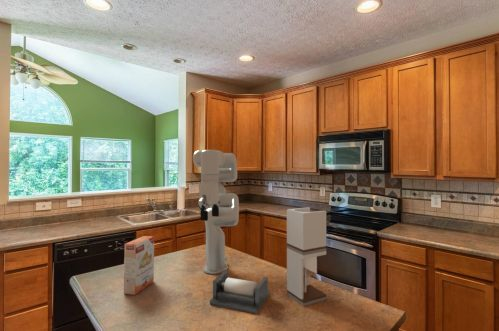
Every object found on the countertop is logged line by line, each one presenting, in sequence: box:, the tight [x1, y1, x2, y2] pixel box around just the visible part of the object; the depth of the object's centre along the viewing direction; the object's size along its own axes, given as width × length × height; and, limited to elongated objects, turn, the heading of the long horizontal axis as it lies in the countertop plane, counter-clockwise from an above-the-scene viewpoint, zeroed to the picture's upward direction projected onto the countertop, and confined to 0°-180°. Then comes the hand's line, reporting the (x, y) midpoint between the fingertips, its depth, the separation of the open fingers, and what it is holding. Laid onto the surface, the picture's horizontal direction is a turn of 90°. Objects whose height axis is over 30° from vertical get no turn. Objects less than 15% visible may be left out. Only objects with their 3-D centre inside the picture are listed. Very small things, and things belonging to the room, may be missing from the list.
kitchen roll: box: [224, 277, 258, 298], centre depth 108 cm, size 6×12×6 cm, turn 69°
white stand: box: [286, 206, 327, 307], centre depth 110 cm, size 11×11×35 cm
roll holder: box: [209, 270, 271, 315], centre depth 108 cm, size 16×19×8 cm
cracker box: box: [123, 235, 155, 296], centre depth 119 cm, size 14×6×21 cm, turn 168°
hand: (209, 218), depth 118 cm, fingers open, 9 cm apart
